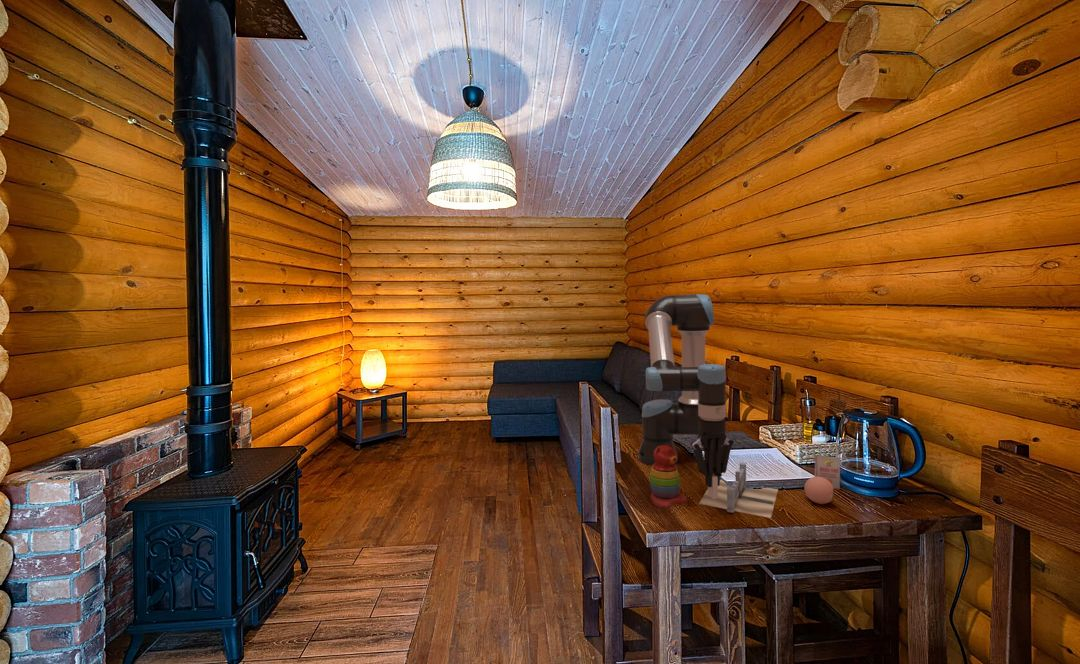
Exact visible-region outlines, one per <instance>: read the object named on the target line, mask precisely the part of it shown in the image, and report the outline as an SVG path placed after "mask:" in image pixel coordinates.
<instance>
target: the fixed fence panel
mask: <svg viewBox="0 0 1080 664" xmlns="http://www.w3.org/2000/svg"><path fill="white" fill-rule="evenodd" d="M738 465H739V470H736V471H735V473H734V474H735V481H739V486H738V491H739V496H738V497H740V493H741V492H742V490H743V487H744V485H746V484H747V463H746V462H739V464H738Z"/></svg>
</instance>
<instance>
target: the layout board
mask: <svg viewBox="0 0 1080 664" xmlns="http://www.w3.org/2000/svg"><path fill="white" fill-rule="evenodd" d="M723 480H724V479H720V485H719V486H718V498H717V499H713V498H711V497H710V496H708V488H707V489H706V491H705V493H704V494H703V495H702V498H701V499H700V501H699V503H698V504H699V505H703V506H709V507H714V508H718V509H724V510H727V488H728V487H732V486H729V485H727V484H726V483H725V482H724V481H723ZM778 491H779V489H778V488H771V487H767V488H762V489H745V488H743V490H742V492H741V493H740V497H738V501H736V504H735V511H734V512H739V513H743V514H749V515H754V516H758V517H764V518H769V519H772V515H773V512H774V506H775V504H776V499H777V495H778Z"/></svg>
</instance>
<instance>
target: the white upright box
mask: <svg viewBox="0 0 1080 664" xmlns="http://www.w3.org/2000/svg"><path fill="white" fill-rule="evenodd" d="M840 461H841V459H840V457H833V456H826V455H825V456H824V455H818V454H817V455H815V458H814V477H823V478H825V479H827V480H828V481H829V482H831V484H832V485H833V488H834V489H833V490H838V491H839V490H840V487H841V483H840V482H841V467H840V464H841V463H840Z"/></svg>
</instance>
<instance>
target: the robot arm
mask: <svg viewBox="0 0 1080 664" xmlns="http://www.w3.org/2000/svg"><path fill="white" fill-rule="evenodd" d="M713 307H714V306H713V303H712V300H711V298H710V296H709V295H707V294H697V293H696V294H694V293H693V294H692V293H691V294H675V295H669V294H668V295H665V296H662V297H660V298H658V299H656V300H654V302H652V303H651V305H650V306H649V307H648V309H647V311H646V313H645V317H644V318H645V319H644V322H645V323H644V324H645V328H646V329H647V330H648V340H649V342H648V343H649V357H650V367H646V369H645V388H646V390H647V391H651V392H681V396H679V398H678V399H677V403H673V400H671V399H665V398H663V399H653V400H650V401H647V402H644V403H643V405H642V407H641V409H642V410H641V418H642V419H641V421H642V422H641V423H642V425H641V426H642V433H641V434H642V440H641V443H640V447H639V450H638V454H637V455H638V460H639V461H640V462H641V463H643V464H646V465H648V466H649V465H650V466H653V464H654V463H655V462H656V461H655V459H654V450H655V449H656V448H657V447H658V446H661V445H667V444H670V445H671V448H673V450H674V451H675V453H676V454H677V460H676V462H675V464H677V463H678V462H679V461H678V459H679V458H678V457H679V456H678V455H679V454H678V452H677V449H676V445H675V444H674V439H673V438H674V437H673V436H674V435H693V436H694V435H695V436H696V435H697V440H695V441H691V442H690V446H691V447H692V450H693V452H694V455H695V461H696V464H697V468H698V471H699V473H700V474H702V475H703V476H705V486H706V487H707V489H708V496H710V497H711V498H713V499H717V498H718V486H719V485H720V480H721V477H723V474H725V473H726V472H727V468H728V463H729V459H730V456H731V455H730V453H731V450H732V447H733V445H734V444H735V442H734V440H732V439H730V438H729V437H727V434H726V432H727V420H726V415H727V410H726V409H727V407H726V396H727V395H726V389H727V387H726V384H727V383H726V380H727V376H726V368H725V366H723V365H722V364H718V363H717V364H716V363H706V334H707V333H708V332H709V331H710V326H712V325H714V324H715V314H714V313H715V312H714V308H713ZM673 326H674V327H675V326H676V327H677V328H676V330H677V332H678V333H679V334H680V335H681V366H679V367H678V366H676V365H675V356H674V351H673V350H674V349H673V343H672V342H673V341H672V334H671V327H673Z"/></svg>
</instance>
